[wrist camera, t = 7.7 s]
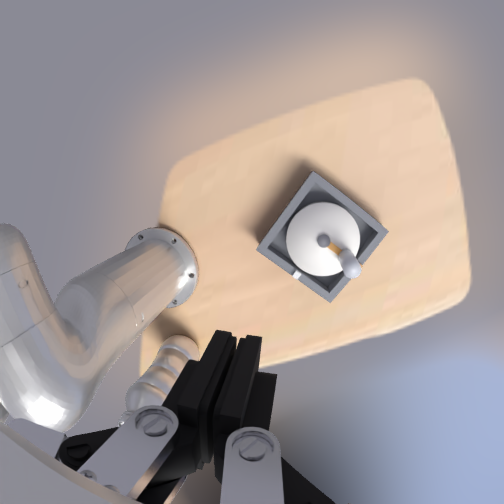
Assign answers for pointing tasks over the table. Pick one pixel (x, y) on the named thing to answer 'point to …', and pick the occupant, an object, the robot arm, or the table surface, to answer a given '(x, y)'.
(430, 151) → the table surface
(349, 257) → the white crank wheel
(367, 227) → the housing
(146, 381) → the plastic bottle
